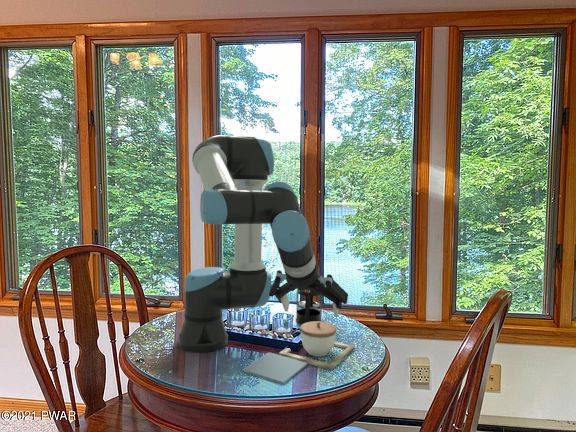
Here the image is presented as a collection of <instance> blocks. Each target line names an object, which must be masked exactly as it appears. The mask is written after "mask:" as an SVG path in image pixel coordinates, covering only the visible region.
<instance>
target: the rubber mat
mask: <svg viewBox="0 0 576 432" xmlns="http://www.w3.org/2000/svg"><path fill="white" fill-rule="evenodd" d="M307 366H308V363H306V362H302V361H299V360H295V359H291V358H288V357H284V356H281V355H279V354H277V353H272V352H270V351H269V352H267V353H265V354H263V355H262V356H260V357H259V358H257V359H256V360H254V361H253V362H251V363H250V364H248V365H247V366H245V367H243V368H242V370H241V371H242V372H244V373H247V374H249V375H253V376H256V377H260V378H262V379H265V380H268V381H272V382H274V383H278V384H280V385H285V384H286V383H288V381H290V380H292V378H294V377H295V376H296V375H297V374H298V373H300V372H301V371H302V370H303V369H305V368H306V367H307Z"/></svg>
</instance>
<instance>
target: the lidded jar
mask: <svg viewBox="0 0 576 432" xmlns="http://www.w3.org/2000/svg"><path fill="white" fill-rule="evenodd" d="M336 333H337V328H336V326H335V325H333V324H331V323H329V322H326V321H321V322H320V321H312V322H306V323H304V324H300V338H301V341H302V344H301V345H302V347H303V348H304V350H305V351H306V352H307V354H309V355H310V356H314V357H324V356H327V355H328V353H329V352H330V351H331V350H332V349H333V348H334V346H333V345H334V342H336Z"/></svg>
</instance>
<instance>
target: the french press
mask: <svg viewBox="0 0 576 432" xmlns="http://www.w3.org/2000/svg"><path fill="white" fill-rule="evenodd" d="M315 261H316V262H317V260H316V259H315ZM318 275H319V276H320V277H323V275H320V274H318ZM315 288H316V287H315ZM304 290H305V289H303V290H301V289H296V317H295V323H297V324H300V325H302V324H304V323H306V322H312V321H320V322H322V320H321V319H322V318H321V317H322V311H321V310H322V295H321V294H319V293H318V294H316V293H314V292H313V291H311V290H307V292H305V291H304ZM299 295H300V296H305V297H304V300H302V301H299ZM317 296H319V297H320V298H319V301H320V302H318V301H314V297H317ZM318 308H319V310H318Z"/></svg>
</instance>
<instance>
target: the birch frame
mask: <svg viewBox="0 0 576 432" xmlns="http://www.w3.org/2000/svg"><path fill="white" fill-rule="evenodd" d="M333 347H337V348H341V349H344V350H343V351H342V352H340V353H339V354H338V355H337V356H336V357H335V358H334V359H333V360H331V361H330V363H327V362H323V361H320V360H316V359H312V358H309V357H305V356H302V355H298V354H294V353H292V351H291V349H290V348H287V347H285V348H284V349H282V350H281V351H280V352H278V355H281V356H284V357H288V358H291V359H295V360H299V361H302V362H306V363H307V365H312V366H316V367H319V368H324V369H326V370H330V371H333V370H334V368H335V367H337V366H338V365H339V363H341V362H342V361H343V360H344V359H345V358H346V357H347V356H348V355H349V354H350V353H351V352H352V351H353V350H354V349H355V345H351V344H346V343H342V342H338V341H335V342H334V345H333Z"/></svg>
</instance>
